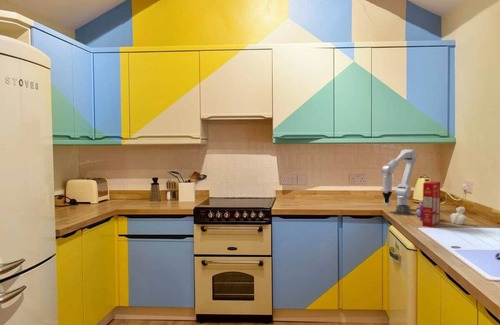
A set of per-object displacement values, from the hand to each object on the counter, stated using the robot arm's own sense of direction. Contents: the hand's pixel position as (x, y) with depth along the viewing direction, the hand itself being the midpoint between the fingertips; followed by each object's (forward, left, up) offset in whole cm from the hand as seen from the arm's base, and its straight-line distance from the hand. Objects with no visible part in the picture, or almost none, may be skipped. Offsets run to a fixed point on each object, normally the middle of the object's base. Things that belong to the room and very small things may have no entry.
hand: (387, 202), depth 306 cm
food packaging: (+38, +30, -7) cm, 49 cm away
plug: (0, 0, -2) cm, 2 cm away
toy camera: (+22, +27, -7) cm, 35 cm away
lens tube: (+3, +11, -7) cm, 13 cm away
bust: (+28, +45, -7) cm, 53 cm away
